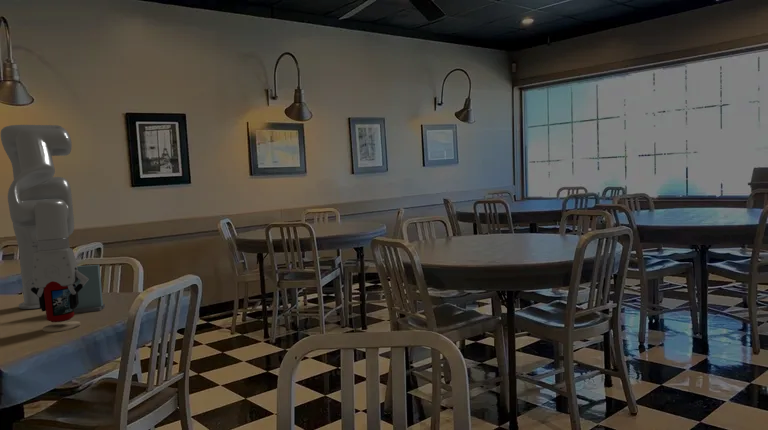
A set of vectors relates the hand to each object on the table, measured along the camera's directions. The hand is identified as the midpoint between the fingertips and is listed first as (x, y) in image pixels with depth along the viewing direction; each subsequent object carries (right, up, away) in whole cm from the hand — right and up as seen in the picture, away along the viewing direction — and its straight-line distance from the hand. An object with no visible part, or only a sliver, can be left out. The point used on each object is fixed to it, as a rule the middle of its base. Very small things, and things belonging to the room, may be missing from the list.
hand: (59, 308), depth 156 cm
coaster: (0, -5, 0) cm, 5 cm away
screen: (-6, -4, +21) cm, 22 cm away
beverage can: (0, -3, 0) cm, 4 cm away
